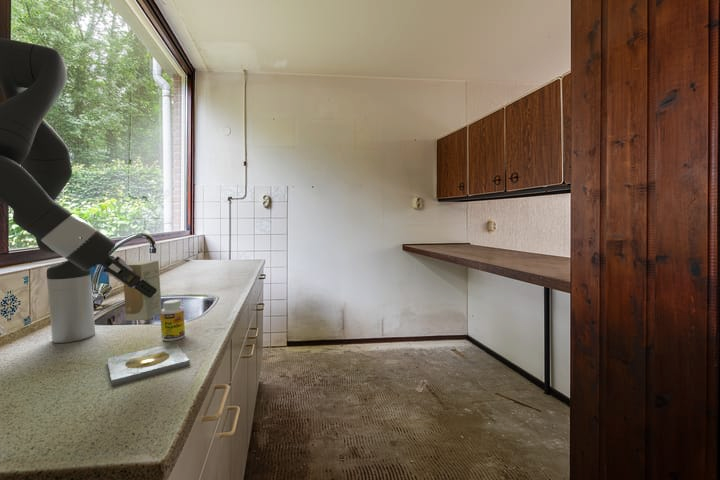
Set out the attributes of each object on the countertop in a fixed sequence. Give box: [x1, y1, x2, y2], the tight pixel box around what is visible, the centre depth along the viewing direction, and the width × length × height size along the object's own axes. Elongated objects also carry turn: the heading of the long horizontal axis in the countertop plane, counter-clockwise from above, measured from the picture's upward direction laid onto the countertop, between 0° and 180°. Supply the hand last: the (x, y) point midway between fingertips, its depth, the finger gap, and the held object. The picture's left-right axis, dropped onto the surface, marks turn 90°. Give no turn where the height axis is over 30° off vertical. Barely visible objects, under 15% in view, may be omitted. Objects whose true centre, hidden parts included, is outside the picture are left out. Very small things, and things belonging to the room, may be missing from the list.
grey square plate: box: [106, 342, 191, 387], centre depth 76 cm, size 14×14×1 cm
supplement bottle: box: [159, 299, 186, 342], centre depth 92 cm, size 6×6×10 cm
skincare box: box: [123, 260, 163, 322], centre depth 75 cm, size 6×4×12 cm
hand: (150, 291), depth 76 cm, fingers closed on skincare box, 7 cm apart
